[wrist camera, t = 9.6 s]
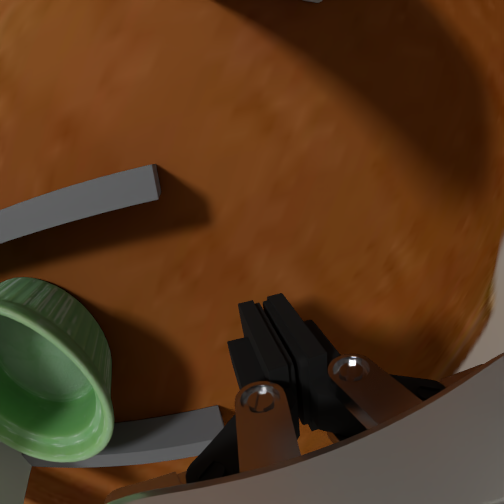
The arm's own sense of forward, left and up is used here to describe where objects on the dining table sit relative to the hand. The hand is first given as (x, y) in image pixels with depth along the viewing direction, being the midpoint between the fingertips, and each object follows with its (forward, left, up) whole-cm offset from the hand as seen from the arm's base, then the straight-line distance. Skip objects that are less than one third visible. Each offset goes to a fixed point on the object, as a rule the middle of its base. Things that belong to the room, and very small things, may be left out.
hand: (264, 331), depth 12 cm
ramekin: (+11, +1, -4) cm, 12 cm away
